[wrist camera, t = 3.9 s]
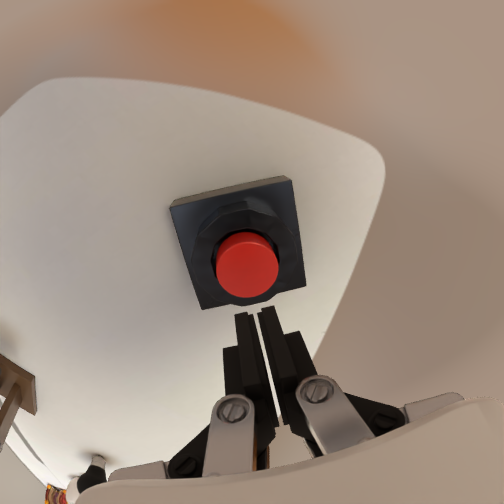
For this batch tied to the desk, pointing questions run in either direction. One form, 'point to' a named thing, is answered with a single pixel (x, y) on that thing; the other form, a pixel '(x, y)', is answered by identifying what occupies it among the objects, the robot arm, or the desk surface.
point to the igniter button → (246, 265)
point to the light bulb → (92, 475)
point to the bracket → (14, 394)
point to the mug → (72, 491)
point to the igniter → (236, 221)
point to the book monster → (55, 496)
